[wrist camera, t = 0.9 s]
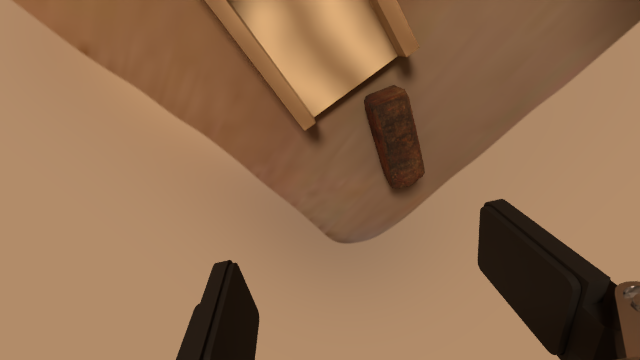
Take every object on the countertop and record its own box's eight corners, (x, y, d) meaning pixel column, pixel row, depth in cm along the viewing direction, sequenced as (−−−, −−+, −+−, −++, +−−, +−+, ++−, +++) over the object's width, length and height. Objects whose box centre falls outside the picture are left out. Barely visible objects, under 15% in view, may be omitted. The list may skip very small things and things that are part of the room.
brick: (359, 97, 32) (369, 105, 28) (393, 83, 32) (409, 90, 27) (383, 176, 37) (395, 194, 32) (413, 165, 36) (429, 182, 32)
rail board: (302, -158, 23) (305, -237, 16) (405, 46, 30) (436, 48, 23) (180, -41, 25) (142, -69, 19) (303, 122, 32) (306, 142, 26)
